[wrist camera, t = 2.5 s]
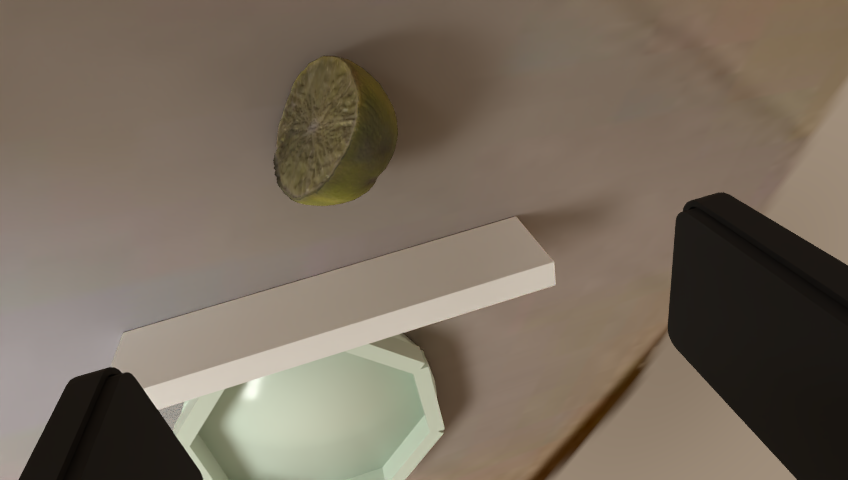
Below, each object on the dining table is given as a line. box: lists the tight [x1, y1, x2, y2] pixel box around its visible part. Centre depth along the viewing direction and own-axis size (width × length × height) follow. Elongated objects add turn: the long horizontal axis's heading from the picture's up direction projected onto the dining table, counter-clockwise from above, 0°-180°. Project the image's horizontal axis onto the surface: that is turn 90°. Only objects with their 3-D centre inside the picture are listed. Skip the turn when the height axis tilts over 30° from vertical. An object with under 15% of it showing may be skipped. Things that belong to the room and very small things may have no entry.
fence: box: [110, 216, 556, 410], centre depth 22 cm, size 1×18×4 cm, turn 101°
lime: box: [273, 56, 398, 206], centre depth 18 cm, size 4×5×5 cm
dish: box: [173, 333, 445, 480], centre depth 27 cm, size 13×13×2 cm
